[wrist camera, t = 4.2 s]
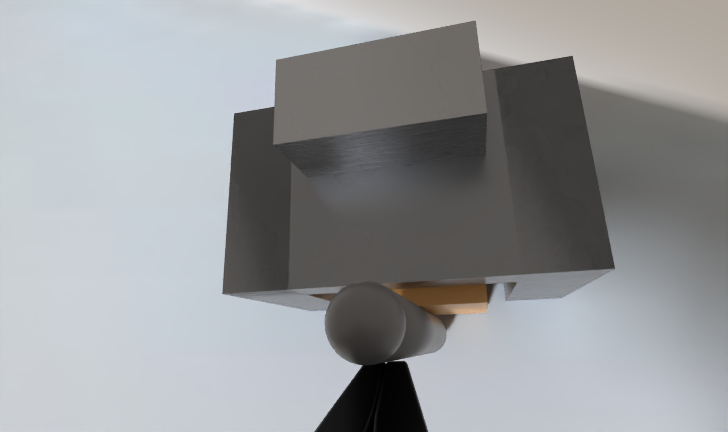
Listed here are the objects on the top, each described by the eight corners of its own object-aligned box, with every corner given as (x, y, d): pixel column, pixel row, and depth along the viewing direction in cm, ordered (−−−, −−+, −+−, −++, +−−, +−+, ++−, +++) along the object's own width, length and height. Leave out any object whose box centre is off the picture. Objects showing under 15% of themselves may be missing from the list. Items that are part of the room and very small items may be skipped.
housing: (561, 297, 16) (650, 249, 8) (310, 310, 18) (170, 284, 10) (539, 157, 18) (592, -7, 9) (311, 185, 20) (191, 73, 12)
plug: (490, 351, 16) (507, 364, 6) (374, 354, 17) (226, 370, 7) (472, 189, 18) (463, -6, 8) (369, 201, 19) (245, 40, 9)
